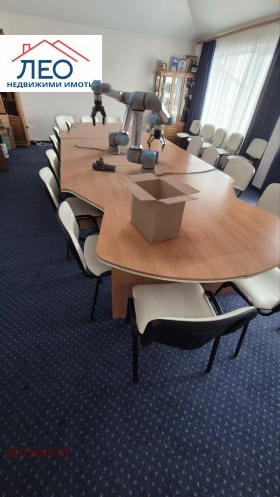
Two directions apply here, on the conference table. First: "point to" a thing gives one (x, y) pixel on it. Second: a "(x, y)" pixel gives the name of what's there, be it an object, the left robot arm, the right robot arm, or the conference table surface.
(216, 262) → the conference table surface
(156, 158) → the canister
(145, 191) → the box
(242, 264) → the conference table surface
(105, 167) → the laser sight
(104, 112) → the left robot arm
